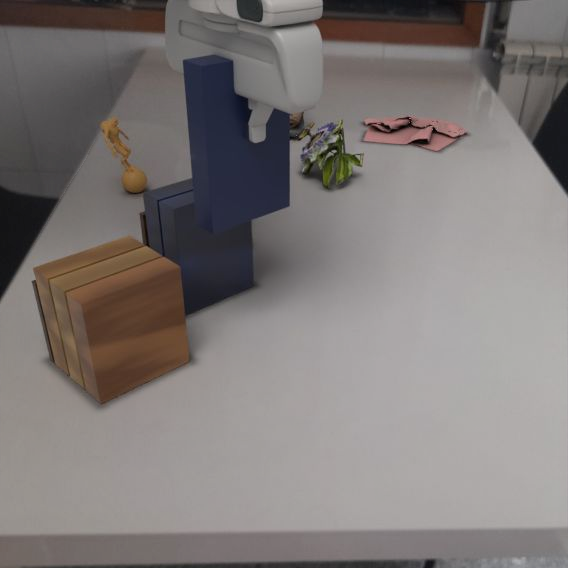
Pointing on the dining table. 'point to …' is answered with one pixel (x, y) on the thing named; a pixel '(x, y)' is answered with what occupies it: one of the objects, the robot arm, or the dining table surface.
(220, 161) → the navy book
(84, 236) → the dining table surface
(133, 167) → the figurine
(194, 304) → the navy books
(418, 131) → the cloth
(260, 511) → the dining table surface
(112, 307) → the tan books
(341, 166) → the passion flower
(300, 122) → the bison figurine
